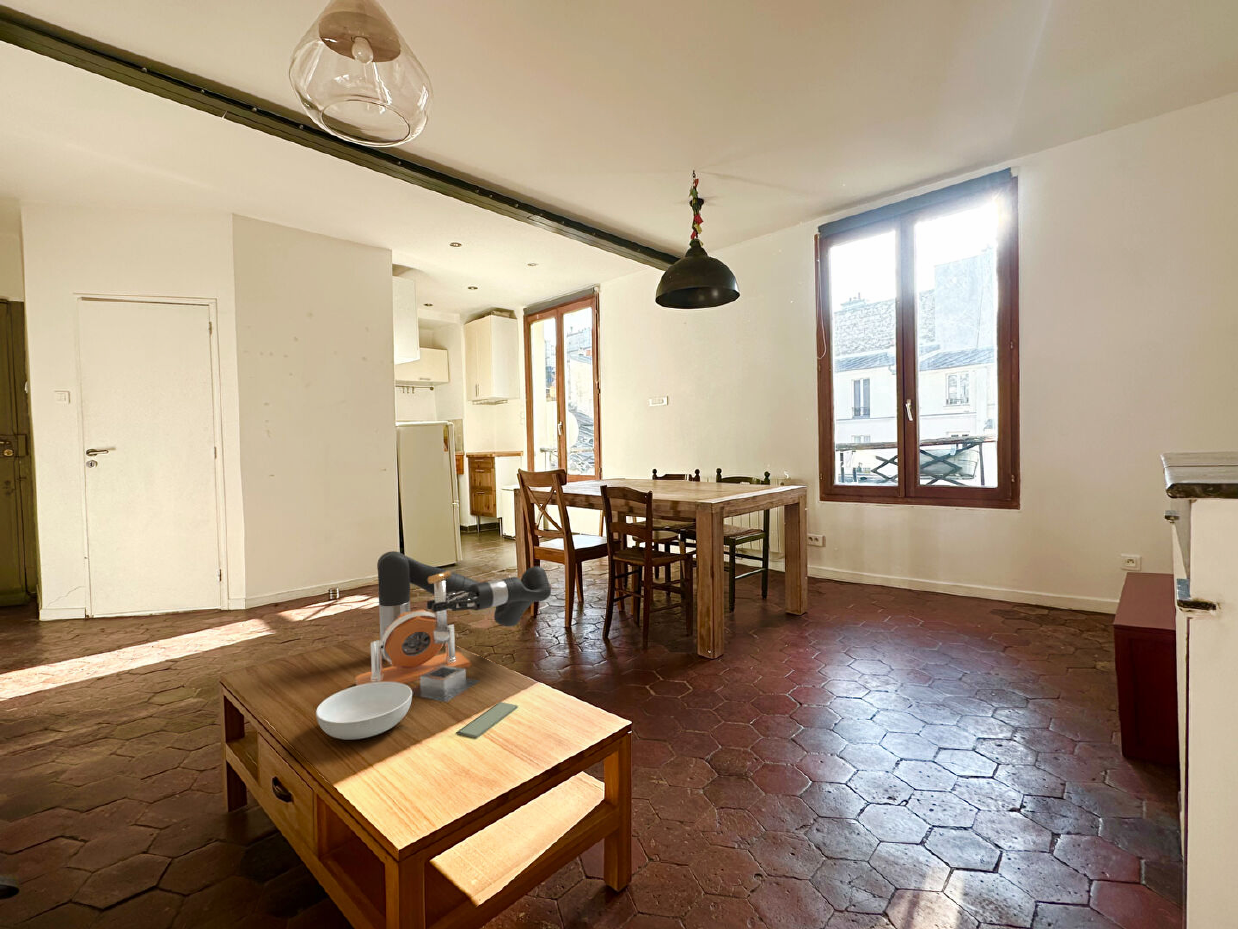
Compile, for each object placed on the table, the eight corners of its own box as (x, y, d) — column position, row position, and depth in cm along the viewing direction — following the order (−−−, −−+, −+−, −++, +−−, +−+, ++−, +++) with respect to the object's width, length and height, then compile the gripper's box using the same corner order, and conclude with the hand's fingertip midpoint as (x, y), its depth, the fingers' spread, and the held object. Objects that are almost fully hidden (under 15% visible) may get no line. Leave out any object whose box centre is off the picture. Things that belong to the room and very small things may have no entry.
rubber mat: (467, 697, 150) (467, 695, 150) (517, 707, 143) (517, 705, 143) (423, 725, 135) (423, 723, 135) (476, 738, 128) (476, 735, 128)
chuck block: (441, 676, 164) (441, 659, 163) (480, 684, 158) (480, 666, 157) (405, 697, 151) (404, 678, 151) (445, 705, 145) (445, 686, 145)
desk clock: (471, 670, 168) (469, 603, 167) (363, 699, 151) (360, 624, 150) (456, 658, 178) (454, 595, 177) (354, 684, 161) (351, 614, 160)
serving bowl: (323, 717, 141) (322, 690, 140) (412, 701, 148) (411, 676, 148) (310, 760, 121) (308, 729, 121) (413, 740, 129) (412, 710, 128)
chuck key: (444, 635, 158) (442, 570, 157) (457, 637, 156) (454, 571, 155) (426, 644, 152) (423, 575, 151) (439, 646, 150) (436, 577, 149)
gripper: (500, 612, 157) (440, 626, 146) (477, 602, 168) (420, 615, 157) (499, 585, 157) (439, 598, 146) (476, 577, 168) (419, 588, 157)
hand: (430, 606), depth 152 cm, fingers closed on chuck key, 3 cm apart
